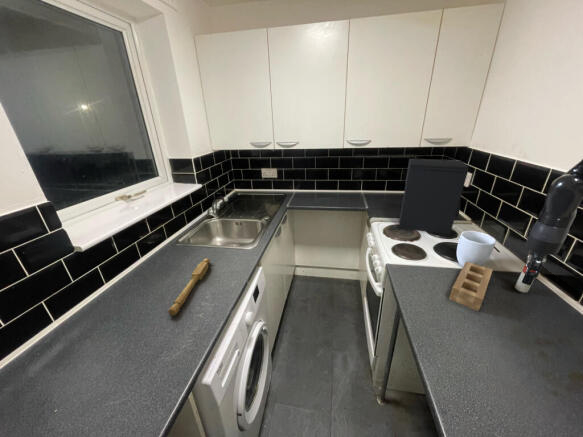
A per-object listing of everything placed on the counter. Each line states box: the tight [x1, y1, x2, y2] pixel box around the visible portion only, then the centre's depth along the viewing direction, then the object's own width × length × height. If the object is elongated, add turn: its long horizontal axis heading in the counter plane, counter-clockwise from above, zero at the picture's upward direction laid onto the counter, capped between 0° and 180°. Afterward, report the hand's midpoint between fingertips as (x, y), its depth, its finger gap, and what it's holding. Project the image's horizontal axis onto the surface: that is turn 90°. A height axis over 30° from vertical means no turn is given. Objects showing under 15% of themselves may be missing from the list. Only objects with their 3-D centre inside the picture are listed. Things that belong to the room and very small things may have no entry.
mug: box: [456, 230, 497, 267], centre depth 93 cm, size 15×11×13 cm
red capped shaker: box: [514, 265, 536, 293], centre depth 79 cm, size 3×3×9 cm
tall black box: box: [398, 157, 469, 236], centre depth 122 cm, size 28×20×35 cm
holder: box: [448, 261, 493, 312], centre depth 81 cm, size 8×20×5 cm, turn 135°
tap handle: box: [167, 258, 211, 316], centre depth 89 cm, size 3×3×30 cm
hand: (526, 278), depth 79 cm, fingers open, 7 cm apart
